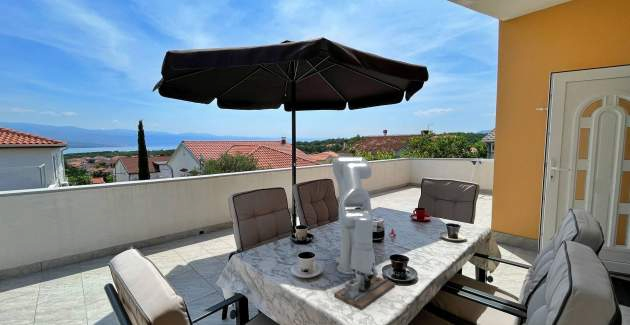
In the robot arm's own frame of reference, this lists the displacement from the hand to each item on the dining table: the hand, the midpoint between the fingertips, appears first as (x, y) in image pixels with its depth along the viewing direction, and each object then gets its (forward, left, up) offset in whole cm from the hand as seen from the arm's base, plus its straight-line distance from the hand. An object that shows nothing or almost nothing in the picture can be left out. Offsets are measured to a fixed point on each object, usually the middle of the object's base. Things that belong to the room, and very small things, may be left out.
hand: (363, 285), depth 121 cm
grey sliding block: (0, 0, -1) cm, 1 cm away
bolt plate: (0, +2, -3) cm, 4 cm away
